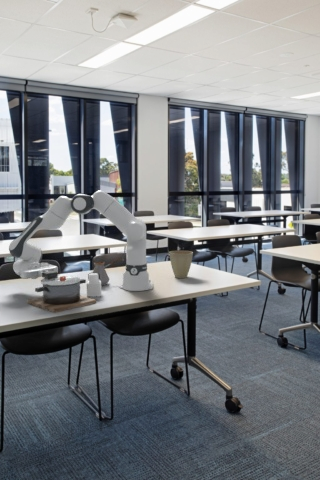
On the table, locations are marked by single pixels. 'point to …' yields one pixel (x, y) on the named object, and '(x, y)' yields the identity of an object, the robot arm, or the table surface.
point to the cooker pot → (61, 293)
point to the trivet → (58, 308)
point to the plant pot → (181, 262)
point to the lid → (58, 279)
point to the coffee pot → (103, 271)
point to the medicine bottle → (93, 285)
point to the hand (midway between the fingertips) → (47, 274)
